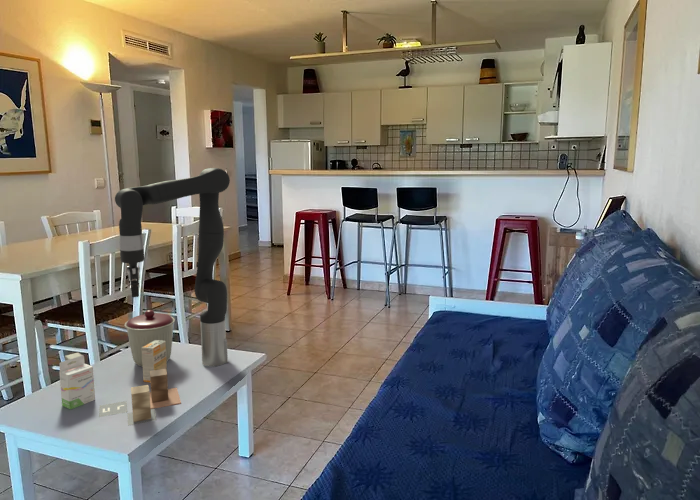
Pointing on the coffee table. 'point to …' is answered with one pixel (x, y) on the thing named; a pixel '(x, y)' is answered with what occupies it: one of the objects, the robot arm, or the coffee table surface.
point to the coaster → (172, 397)
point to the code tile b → (153, 418)
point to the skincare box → (73, 357)
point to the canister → (149, 332)
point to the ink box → (76, 383)
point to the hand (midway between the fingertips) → (135, 293)
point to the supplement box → (153, 358)
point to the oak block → (141, 403)
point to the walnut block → (159, 385)
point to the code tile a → (112, 408)
